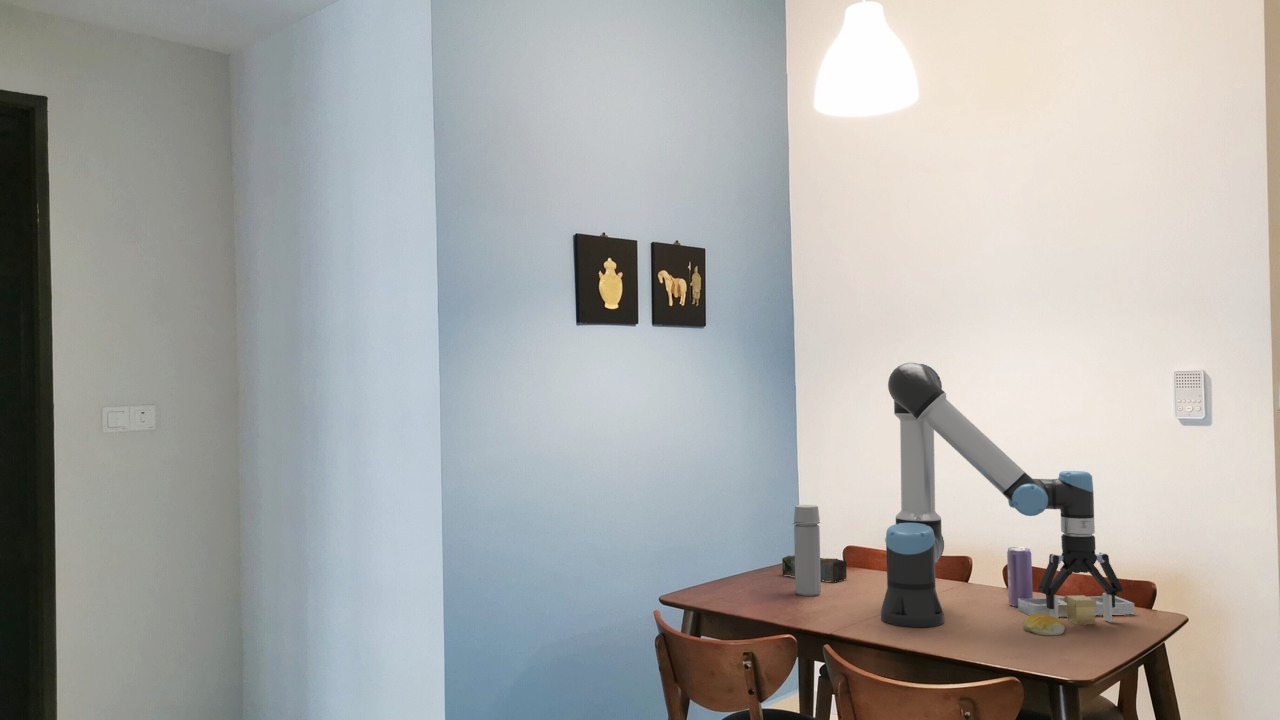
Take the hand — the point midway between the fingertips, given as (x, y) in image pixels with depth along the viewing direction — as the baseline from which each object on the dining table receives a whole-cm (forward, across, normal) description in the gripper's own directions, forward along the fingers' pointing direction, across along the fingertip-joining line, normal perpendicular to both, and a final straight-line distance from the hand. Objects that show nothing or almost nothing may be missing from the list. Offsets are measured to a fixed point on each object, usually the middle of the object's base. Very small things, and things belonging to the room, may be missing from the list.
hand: (1081, 621), depth 223 cm
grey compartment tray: (0, +4, +10) cm, 11 cm away
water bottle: (0, -59, +40) cm, 71 cm away
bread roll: (+1, -13, -7) cm, 15 cm away
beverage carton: (0, -52, +63) cm, 81 cm away
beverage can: (0, -6, +19) cm, 20 cm away
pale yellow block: (0, 0, 0) cm, 0 cm away
